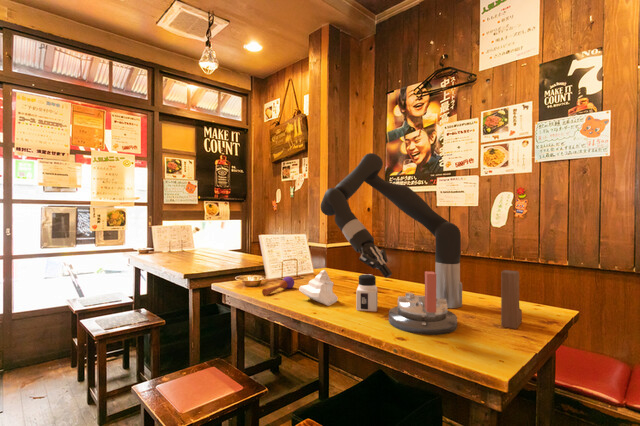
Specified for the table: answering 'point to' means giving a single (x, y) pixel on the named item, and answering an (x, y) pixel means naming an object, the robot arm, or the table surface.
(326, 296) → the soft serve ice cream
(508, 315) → the wooden block
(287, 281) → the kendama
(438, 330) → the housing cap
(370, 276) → the container
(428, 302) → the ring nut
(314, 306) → the table surface
